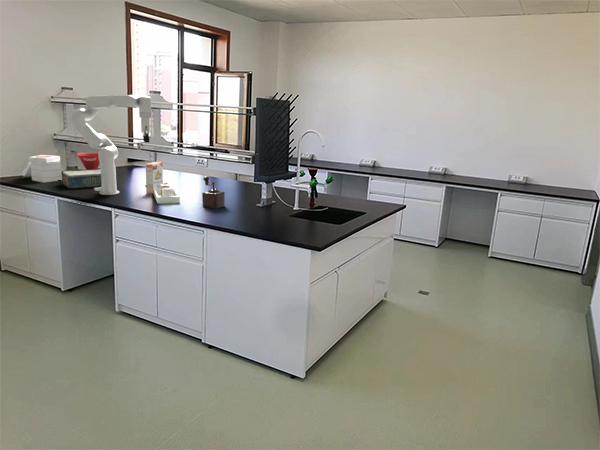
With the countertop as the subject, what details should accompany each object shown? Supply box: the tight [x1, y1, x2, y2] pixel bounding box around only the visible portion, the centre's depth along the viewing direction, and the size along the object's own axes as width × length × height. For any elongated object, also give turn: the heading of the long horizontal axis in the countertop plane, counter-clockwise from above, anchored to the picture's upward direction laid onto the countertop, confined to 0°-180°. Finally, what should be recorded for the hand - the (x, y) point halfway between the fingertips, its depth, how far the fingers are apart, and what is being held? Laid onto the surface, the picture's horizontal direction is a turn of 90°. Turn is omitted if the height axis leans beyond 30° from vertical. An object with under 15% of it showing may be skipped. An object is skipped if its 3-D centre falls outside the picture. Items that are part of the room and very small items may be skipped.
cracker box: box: [145, 161, 164, 195], centre depth 324 cm, size 14×6×21 cm, turn 168°
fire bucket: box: [75, 141, 100, 170], centre depth 365 cm, size 22×20×30 cm
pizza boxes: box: [21, 154, 63, 183], centre depth 353 cm, size 19×30×18 cm, turn 58°
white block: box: [162, 187, 173, 197], centre depth 296 cm, size 6×6×8 cm
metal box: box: [61, 168, 101, 189], centre depth 341 cm, size 21×32×10 cm, turn 128°
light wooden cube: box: [161, 183, 170, 197], centre depth 308 cm, size 5×5×8 cm
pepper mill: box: [201, 176, 226, 210], centre depth 291 cm, size 16×11×18 cm
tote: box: [153, 187, 181, 205], centre depth 304 cm, size 14×30×5 cm, turn 22°
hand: (146, 141), depth 309 cm, fingers open, 9 cm apart
